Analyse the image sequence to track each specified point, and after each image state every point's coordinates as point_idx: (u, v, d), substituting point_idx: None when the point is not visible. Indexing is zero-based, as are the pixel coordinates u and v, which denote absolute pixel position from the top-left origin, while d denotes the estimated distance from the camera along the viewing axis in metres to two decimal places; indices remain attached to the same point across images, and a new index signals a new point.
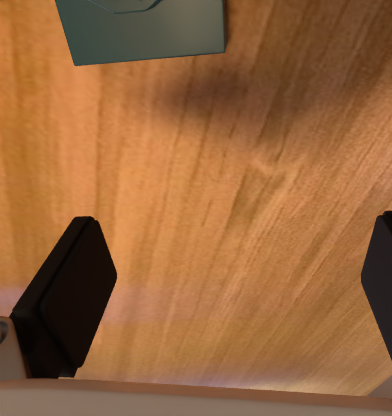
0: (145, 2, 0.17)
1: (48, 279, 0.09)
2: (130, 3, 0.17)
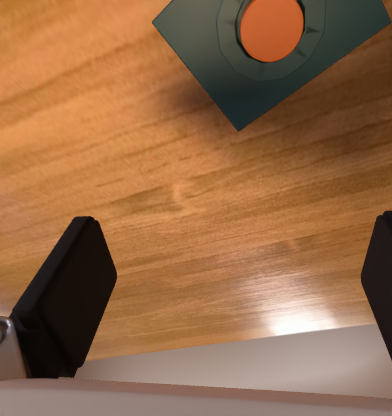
0: (240, 69, 0.21)
1: (48, 279, 0.09)
2: (233, 59, 0.21)
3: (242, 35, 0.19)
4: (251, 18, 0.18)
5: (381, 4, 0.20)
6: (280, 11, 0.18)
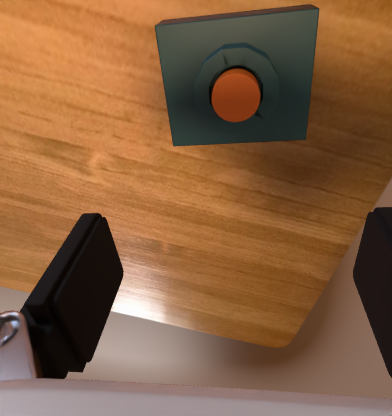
0: (200, 108, 0.26)
1: (58, 274, 0.09)
2: (199, 97, 0.25)
3: (215, 89, 0.24)
4: (227, 83, 0.23)
5: (306, 125, 0.28)
6: (247, 92, 0.24)
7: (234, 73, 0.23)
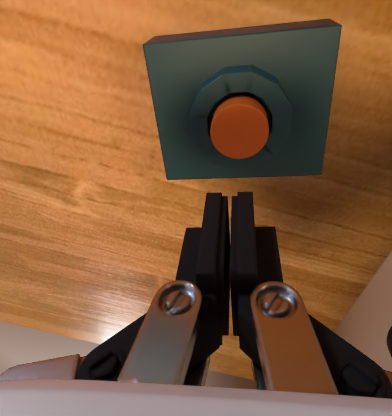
0: (197, 140, 0.22)
1: (213, 247, 0.09)
2: (196, 129, 0.21)
3: (214, 121, 0.20)
4: (228, 114, 0.19)
5: (322, 159, 0.24)
6: (253, 125, 0.19)
7: (237, 103, 0.19)
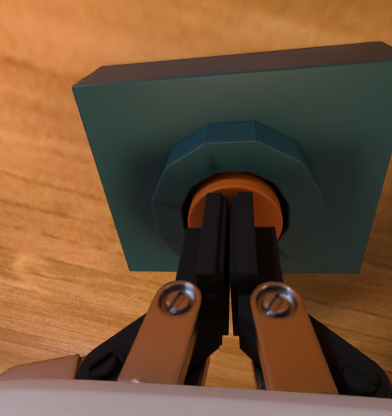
0: (167, 236, 0.14)
1: (214, 247, 0.09)
2: (164, 222, 0.13)
3: (193, 209, 0.12)
4: None
5: (362, 254, 0.15)
6: (257, 216, 0.12)
7: (231, 183, 0.11)
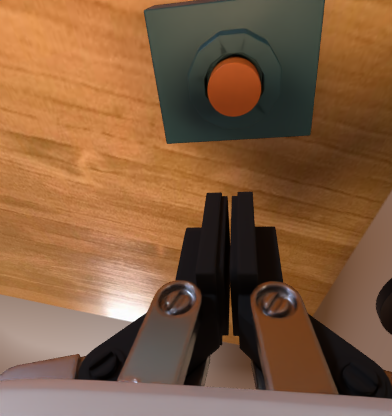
0: (195, 101, 0.24)
1: (213, 247, 0.09)
2: (194, 90, 0.23)
3: (211, 80, 0.21)
4: (224, 73, 0.21)
5: (310, 119, 0.25)
6: (246, 83, 0.21)
7: (232, 62, 0.21)
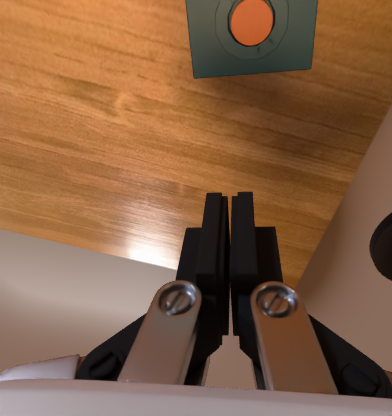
0: (220, 35, 0.30)
1: (213, 247, 0.09)
2: (219, 25, 0.29)
3: (234, 14, 0.28)
4: (244, 7, 0.27)
5: (311, 54, 0.32)
6: (261, 16, 0.28)
7: None
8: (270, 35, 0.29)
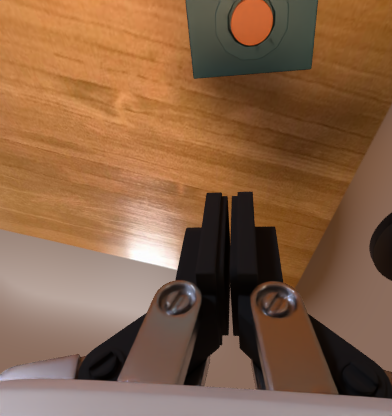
0: (220, 35, 0.30)
1: (213, 247, 0.09)
2: (219, 25, 0.29)
3: (234, 14, 0.28)
4: (244, 7, 0.27)
5: (311, 54, 0.32)
6: (261, 16, 0.28)
7: None
8: (270, 35, 0.29)
